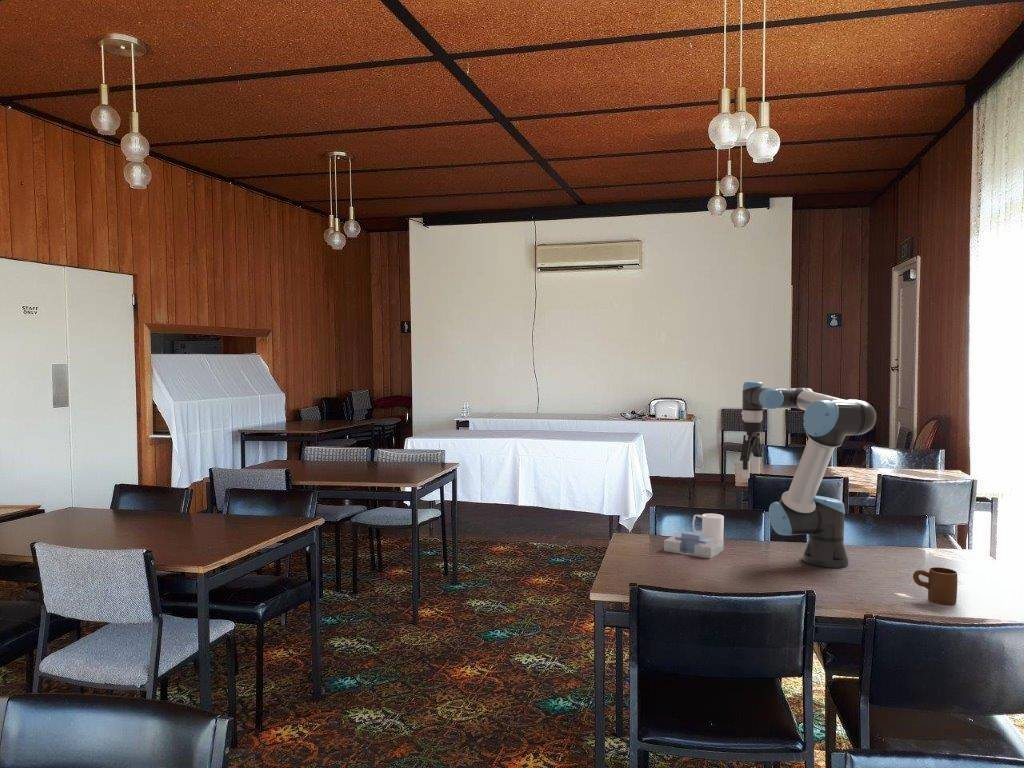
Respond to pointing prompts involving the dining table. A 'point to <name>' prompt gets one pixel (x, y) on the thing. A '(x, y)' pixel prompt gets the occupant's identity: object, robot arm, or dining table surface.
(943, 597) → the mug
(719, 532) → the cup
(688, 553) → the chassis
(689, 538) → the servo
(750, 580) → the dining table surface
